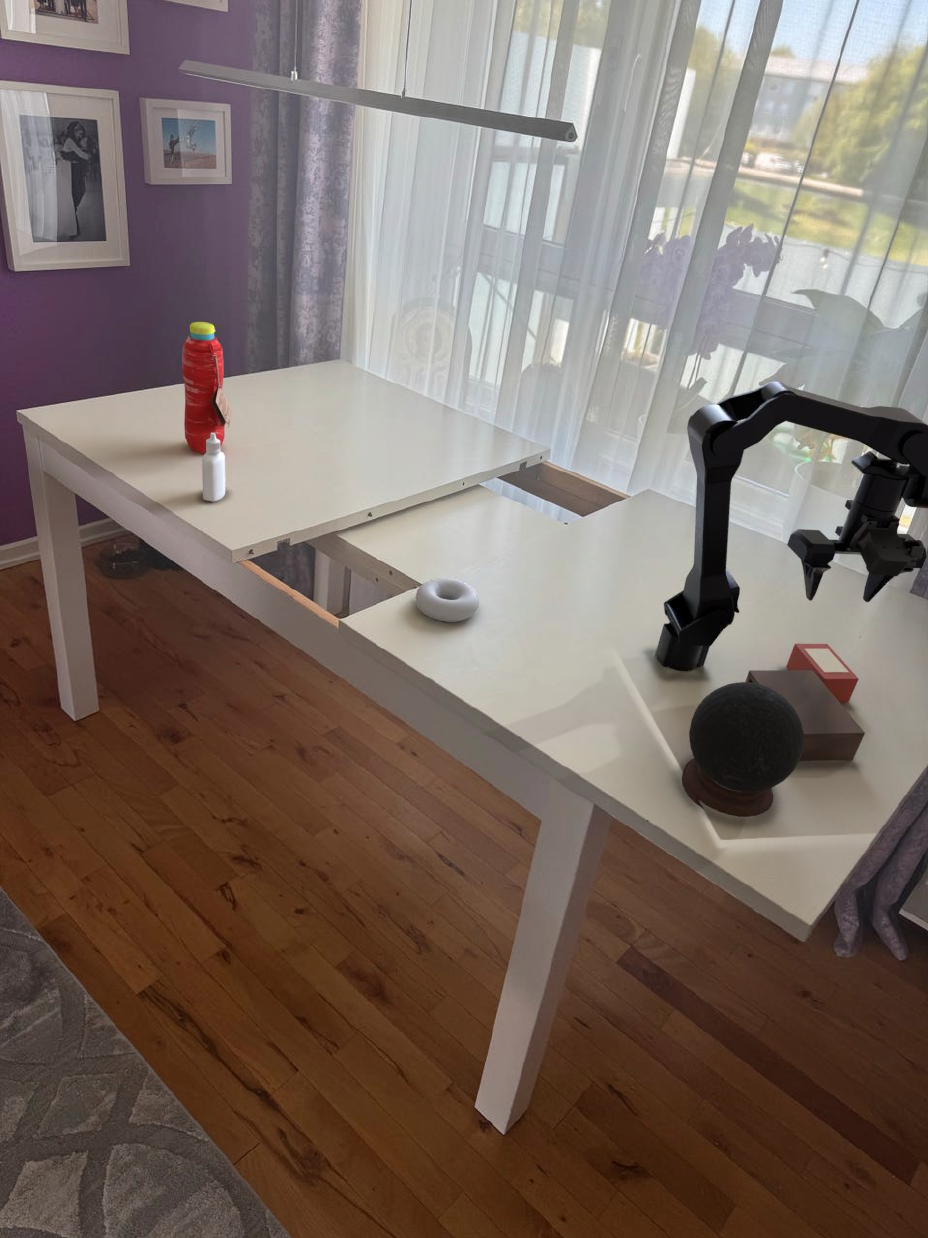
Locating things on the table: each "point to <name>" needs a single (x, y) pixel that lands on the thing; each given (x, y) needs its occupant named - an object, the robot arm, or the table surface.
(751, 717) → the sphere on wooden stand
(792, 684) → the block
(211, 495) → the eye dropper bottle
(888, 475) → the robot arm
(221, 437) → the water bottle
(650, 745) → the table surface
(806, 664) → the carton
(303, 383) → the table surface
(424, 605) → the donut
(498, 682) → the table surface
